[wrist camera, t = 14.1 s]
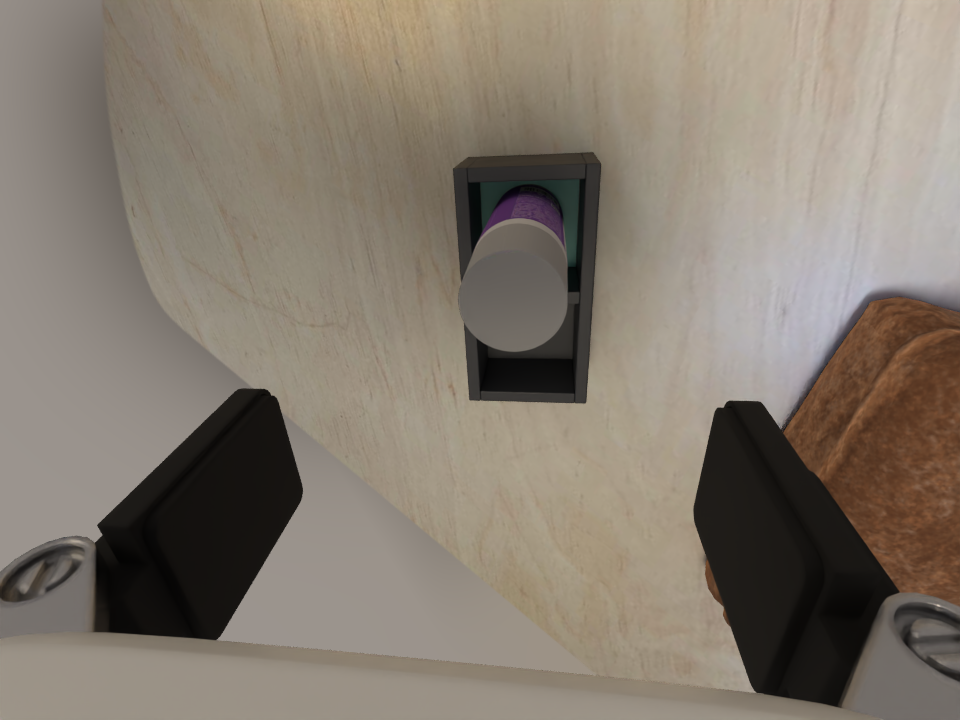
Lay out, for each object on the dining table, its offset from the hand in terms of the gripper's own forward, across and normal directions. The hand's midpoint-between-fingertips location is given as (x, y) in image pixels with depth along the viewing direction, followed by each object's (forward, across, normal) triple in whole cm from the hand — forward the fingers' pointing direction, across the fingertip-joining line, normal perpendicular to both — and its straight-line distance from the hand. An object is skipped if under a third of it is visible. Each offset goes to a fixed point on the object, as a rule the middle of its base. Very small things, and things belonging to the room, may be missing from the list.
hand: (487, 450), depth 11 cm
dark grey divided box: (+26, 0, +4) cm, 26 cm away
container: (+25, 0, +1) cm, 25 cm away
